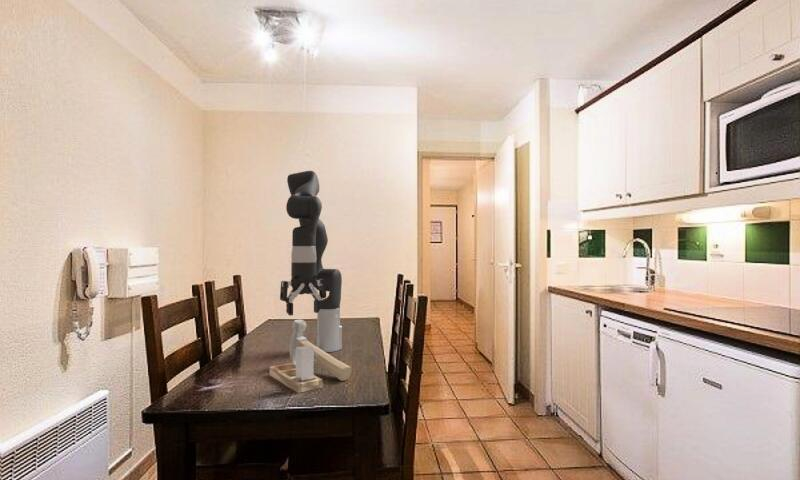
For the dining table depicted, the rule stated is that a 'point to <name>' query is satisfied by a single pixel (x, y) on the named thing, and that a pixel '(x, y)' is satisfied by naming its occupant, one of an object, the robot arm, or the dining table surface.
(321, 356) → the hammer
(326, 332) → the robot arm
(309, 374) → the steel peg
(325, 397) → the dining table surface
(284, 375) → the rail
